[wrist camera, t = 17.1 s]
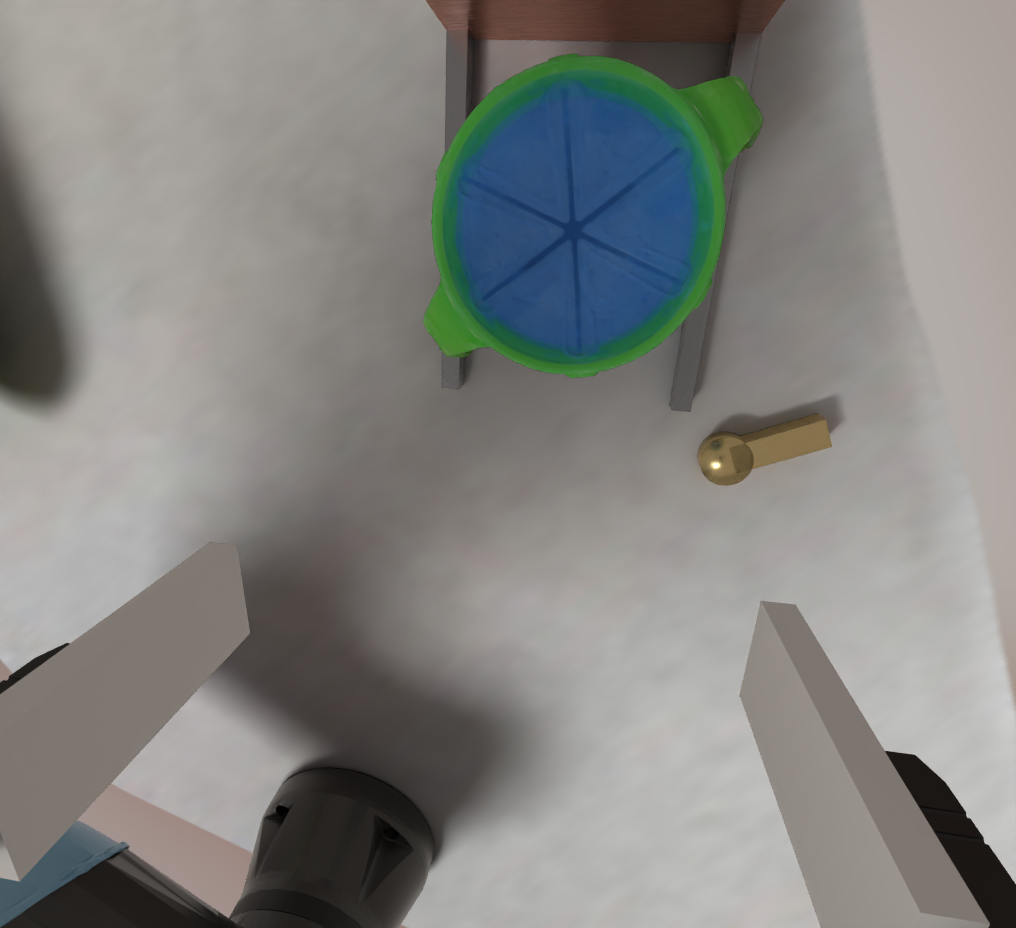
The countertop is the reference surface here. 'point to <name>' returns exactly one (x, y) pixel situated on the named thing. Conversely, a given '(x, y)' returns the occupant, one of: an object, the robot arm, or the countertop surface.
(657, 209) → the snack cup
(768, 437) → the brass key
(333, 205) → the countertop surface
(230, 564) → the robot arm
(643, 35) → the bracket
